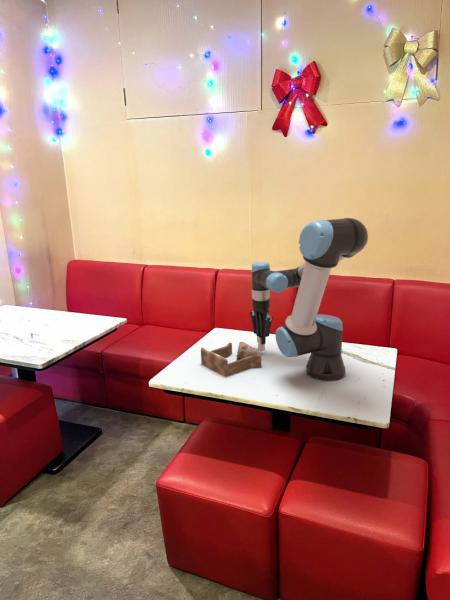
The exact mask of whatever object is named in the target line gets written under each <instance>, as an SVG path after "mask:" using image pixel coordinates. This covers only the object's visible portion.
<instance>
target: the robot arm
mask: <svg viewBox="0 0 450 600" xmlns="http://www.w3.org/2000/svg"><path fill="white" fill-rule="evenodd" d="M368 240H369V234H368V229H367V227H366V226H365V224H363V223H362V221H360V220H358V219H356V218H352V217H345V218H335V219H318V220H315V221H311V222H308V223H307V224H306V225H305V226H304V227H303V228H302V230H301V232H300V235H299V237H298V244H299V247H298V248H299V252H300V253H301V255H302V259H303V260H304V261H303V263H301V264H300V265H299V266H297V267H295V268H289V269H284V270H282V269H281V270H275V271H273V270H271V268H270V264H269V262H264V261H257V262H254V263H252V264H251V271H250V272H251V298H252V300H251V304H252V305H251V307H252V311H249V315H250V319H251V324H252V325H251V326H252V331H253V334H254V335H256V336H257V337H256V339H257V348H258V349H259V353H260V352H263V351H266V344H267V343H266V338H267V337H269V336H270V333H271V328H272V323H273V321H274V317H273V316H271V315H270V311H269V308H270V307H271V300H270V297H271V294H270V293H271V292H274V293H283V291H285V290H287V289H291V288H298V290H297V293H296V297H295V300H294V304H293V309H292V312H291V315H288V316H287V317H286V318H285V321H284V326H283V325H282V326H279V327H278V328H277V329H276V330H275V334H274V335H275V341H276V345H277V348H278V349H279V351H280V353H281V354H282V355H283V356H285V357H286V358H298V357H299V356H304V355H307V354H309V357H308V360H307V364H306V367H305V369H306V370H305V372H306V375H307V376H309V377H310V378H313V379H316V380H320V381H326V382H327V381H329V382H330V381H337V380H341V379H342V378H344V377H346V366H345V364H344V359H343V357H342V351H343V349H342V347H343V345H342V344H343V333H344V329H343V321H342V320H341V319H340V318H339V317H337V316H333V315H329V314H321V313H320V314H319V313H318V312H319V309H320V306H321V303H322V300H323V296H324V293H325V291H326V286H327V283H328V280H329V277H330V274H331V272H332V271H331V270H332V269H335V268H336V267H337V266H338V264H339V263H340V262H341V261H342V260H344V259H350V258H353V257H354V256H356V255H357V254H359V253H361V252H362V250H364V249H365V247H366V245H367V244H368ZM270 291H271V292H270Z"/></svg>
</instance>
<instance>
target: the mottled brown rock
mask: <svg viewBox="0 0 450 600" xmlns="http://www.w3.org/2000/svg"><path fill="white" fill-rule="evenodd" d="M255 355H260V351H259V349H258V347H253V346H252V345H250V344H248V343H246V342H244V341H239V343H238V347H237V352H236V358H237V359H239V360H240V359H243V358H245V357H248V356H255Z"/></svg>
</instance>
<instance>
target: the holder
mask: <svg viewBox="0 0 450 600" xmlns="http://www.w3.org/2000/svg"><path fill="white" fill-rule="evenodd" d="M231 355H233V342H228V343H227V344H226V345H225V346H222V347H219V348H216V349H212V350H209V349H207V348H205V347H203V346H201V348H200V362H201V366H203V367H207V368H208V369H209V370H211V371H213V372H215V373H217V374H219V375H221V376H223V377H225V378H228V377H230V376H234V375H236V374H239V373H241V372H245V371H247V370H250V369H257V368H258V369H259V368H262V355H261V354H259V355H255V356H248V357H245V358H243V359H240V358H239V359H238V360H235V361H232V362H229V361H228V358H229V357H230V356H231ZM228 362H229V363H228Z"/></svg>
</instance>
